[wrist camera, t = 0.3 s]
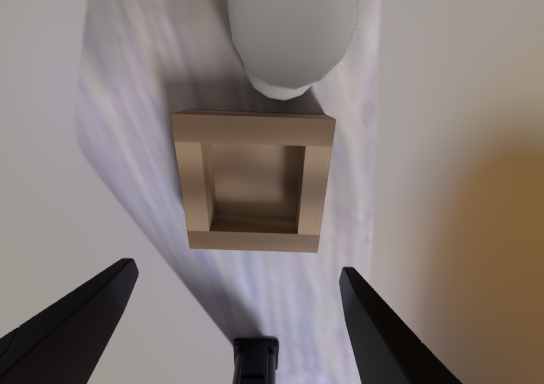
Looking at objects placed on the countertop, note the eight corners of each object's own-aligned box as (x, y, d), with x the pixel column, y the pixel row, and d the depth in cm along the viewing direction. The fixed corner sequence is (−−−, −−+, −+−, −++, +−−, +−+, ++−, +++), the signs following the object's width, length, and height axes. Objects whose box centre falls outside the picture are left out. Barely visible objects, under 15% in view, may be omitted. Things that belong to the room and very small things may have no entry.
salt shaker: (233, 71, 19) (161, 38, 7) (271, -2, 17) (261, -224, 5) (290, 112, 20) (312, 144, 8) (332, 49, 18) (441, -29, 6)
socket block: (311, 229, 25) (317, 252, 21) (202, 225, 25) (189, 248, 21) (325, 114, 20) (336, 119, 16) (189, 109, 20) (170, 113, 16)
